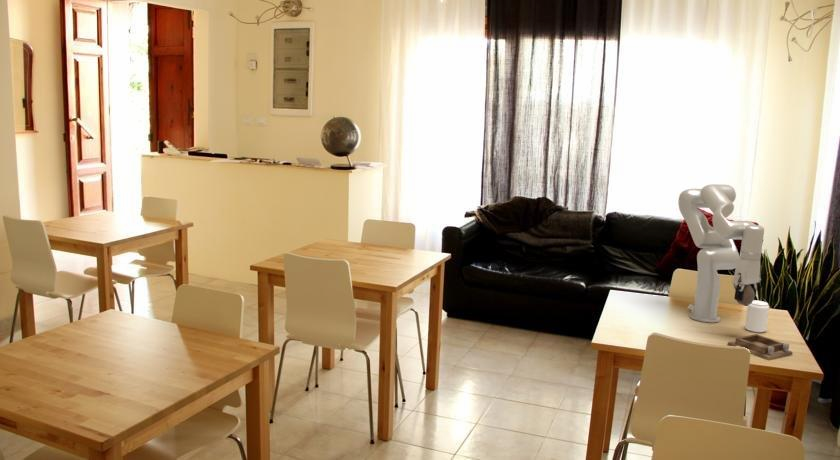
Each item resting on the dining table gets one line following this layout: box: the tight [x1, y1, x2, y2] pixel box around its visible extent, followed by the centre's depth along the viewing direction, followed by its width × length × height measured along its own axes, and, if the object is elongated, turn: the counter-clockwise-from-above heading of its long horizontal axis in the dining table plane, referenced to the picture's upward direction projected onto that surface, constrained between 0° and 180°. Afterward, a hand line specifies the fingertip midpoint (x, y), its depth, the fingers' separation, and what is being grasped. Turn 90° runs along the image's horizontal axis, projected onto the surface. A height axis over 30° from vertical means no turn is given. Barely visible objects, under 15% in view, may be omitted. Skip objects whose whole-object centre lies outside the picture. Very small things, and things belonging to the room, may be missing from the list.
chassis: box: [726, 333, 794, 361], centre depth 280 cm, size 18×14×4 cm
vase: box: [736, 284, 755, 306], centre depth 291 cm, size 7×7×9 cm
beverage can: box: [744, 299, 770, 334], centre depth 304 cm, size 8×8×12 cm
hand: (744, 298), depth 291 cm, fingers closed on vase, 6 cm apart
